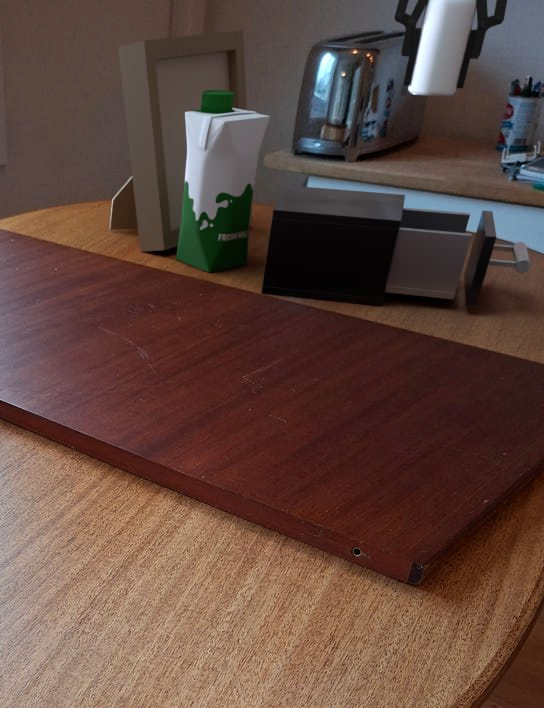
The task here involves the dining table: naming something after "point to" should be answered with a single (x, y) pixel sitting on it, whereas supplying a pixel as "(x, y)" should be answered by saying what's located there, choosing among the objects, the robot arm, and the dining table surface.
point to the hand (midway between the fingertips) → (432, 85)
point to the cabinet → (332, 244)
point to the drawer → (446, 254)
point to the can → (441, 47)
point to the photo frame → (168, 124)
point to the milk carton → (219, 182)
